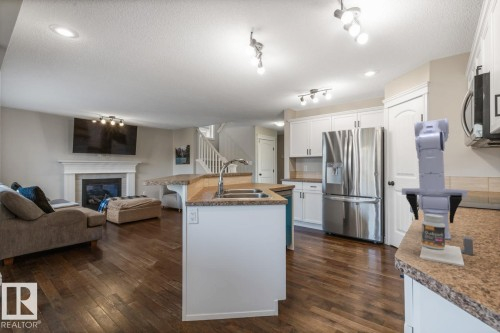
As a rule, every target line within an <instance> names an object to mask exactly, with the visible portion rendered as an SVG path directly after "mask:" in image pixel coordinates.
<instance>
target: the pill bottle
mask: <svg viewBox="0 0 500 333" xmlns="http://www.w3.org/2000/svg"><path fill="white" fill-rule="evenodd" d="M424 218H425V221H424V220H423V221H422V223H421V245H422V246H423V245H424V246H426V247H429V248H433V249H444V248H445V245H446V239H445V225H444V224H443V223H442V221H443V216H440V215H434V214H424V213H423V219H424Z"/></svg>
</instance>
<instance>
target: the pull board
mask: <svg viewBox="0 0 500 333" xmlns="http://www.w3.org/2000/svg"><path fill="white" fill-rule="evenodd" d="M462 240H463V248H461V247H460V246H454V245H449V244H445V248H444V249H433V248H429V247H426V246H424V245H422V246H421V251H420V255H419V259H421V260H425V261H426V260H427V261H430V262H437V263H442V264H448V265H451V264H452V265H453V266H457V267H463V268H465V261H464V258H463V254H464V255H469V256H474V243H473V238H472V236H463V239H462Z"/></svg>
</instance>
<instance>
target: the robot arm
mask: <svg viewBox="0 0 500 333" xmlns="http://www.w3.org/2000/svg"><path fill="white" fill-rule="evenodd" d="M449 127H450V126H449V119H448V118H446V117H444V118H441V119H440V118H439V119H434V120H433V119H432V120H426V121H425V120H424V121H416V122H415V123H414V137H415V140H414V141H415V151H416V155H417V156H416V157H417V160H418V183H419V188H417V187H414V188H413V187H412V188H408V187H406V188H404V187H402V188H401V195H403V196H405V198H406V200H407V202H408V204H409V205H410V208H411V209H412V213H413V216H414V220H416V221H418V220H419V218H420V217H419V210H420V211H422V212H423V215H424V214H434V215H440V216H443V221H442V223H443V224H444V225H445V240H452V236H451V232H450V231H449V230H450V229H449V224H454V220H455V214H456V213H457V209H458V207H459V206H460V204H461V202H462V200H463V198H468V190H467V189H457V188H456V189H455V188H446V187H445V186H446V184H445V164H444V152H445V149H446V144H445V143H446V142H448V139H449V134H450V132H449V130H450V128H449ZM418 208H419V209H418ZM423 221H425V218H424V217H423Z"/></svg>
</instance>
